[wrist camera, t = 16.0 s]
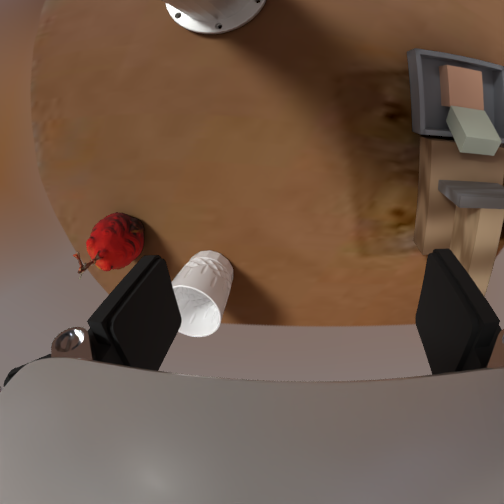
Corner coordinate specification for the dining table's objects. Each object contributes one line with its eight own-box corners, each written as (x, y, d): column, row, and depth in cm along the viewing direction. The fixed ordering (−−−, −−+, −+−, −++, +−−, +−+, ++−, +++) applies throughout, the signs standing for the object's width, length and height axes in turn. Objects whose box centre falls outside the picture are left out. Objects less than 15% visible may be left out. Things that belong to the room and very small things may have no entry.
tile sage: (445, 121, 28) (450, 105, 26) (478, 125, 28) (484, 110, 25) (459, 152, 26) (466, 136, 24) (493, 155, 25) (501, 141, 23)
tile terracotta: (449, 106, 26) (441, 105, 29) (483, 111, 25) (474, 110, 28) (447, 64, 24) (438, 66, 26) (481, 71, 23) (472, 72, 25)
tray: (406, 51, 27) (414, 48, 24) (493, 67, 24) (504, 66, 22) (412, 131, 31) (420, 134, 29) (495, 139, 29) (507, 143, 26)
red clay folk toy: (101, 222, 44) (40, 270, 31) (128, 197, 42) (62, 244, 29) (130, 259, 47) (78, 317, 34) (159, 239, 44) (105, 298, 31)
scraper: (438, 179, 30) (460, 196, 25) (497, 183, 28) (523, 199, 23) (425, 279, 36) (440, 307, 30) (480, 276, 34) (498, 301, 29)
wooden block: (419, 135, 31) (431, 140, 28) (489, 142, 29) (505, 148, 26) (413, 240, 38) (422, 254, 34) (478, 239, 36) (490, 252, 32)
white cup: (249, 271, 44) (234, 315, 35) (216, 301, 48) (197, 346, 39) (205, 235, 43) (179, 273, 34) (176, 269, 46) (148, 309, 37)
